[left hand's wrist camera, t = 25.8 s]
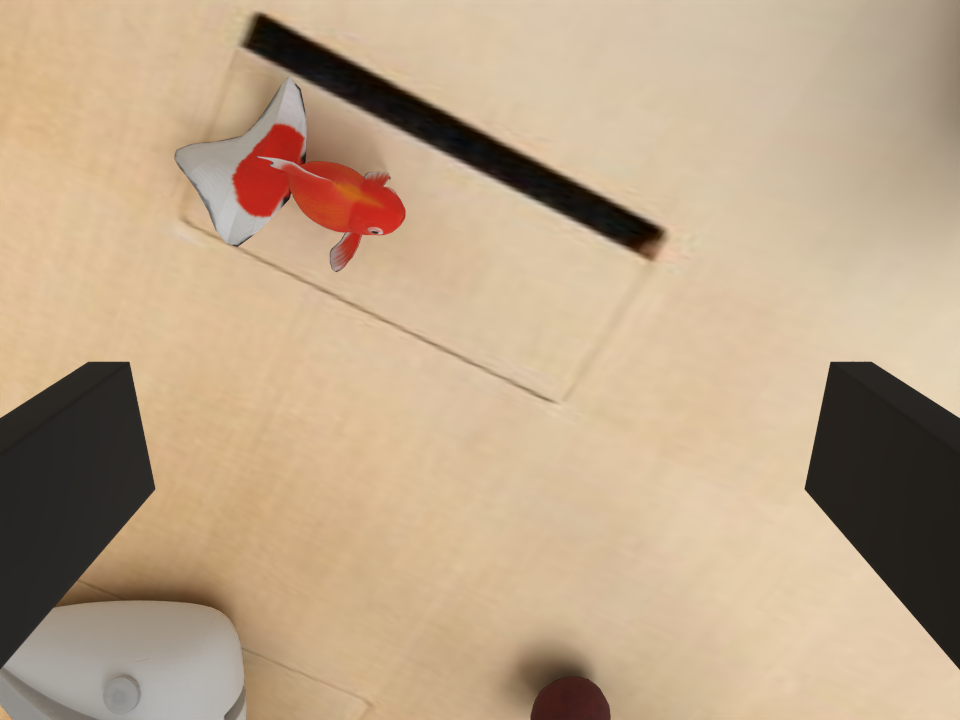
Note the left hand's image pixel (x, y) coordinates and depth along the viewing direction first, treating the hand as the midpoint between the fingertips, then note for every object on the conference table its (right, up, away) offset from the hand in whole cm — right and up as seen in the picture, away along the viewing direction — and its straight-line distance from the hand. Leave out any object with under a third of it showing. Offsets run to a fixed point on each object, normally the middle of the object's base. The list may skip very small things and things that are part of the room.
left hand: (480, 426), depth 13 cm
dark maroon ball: (+8, -31, +51) cm, 60 cm away
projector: (-33, -26, +50) cm, 65 cm away
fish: (-12, +14, +34) cm, 39 cm away
